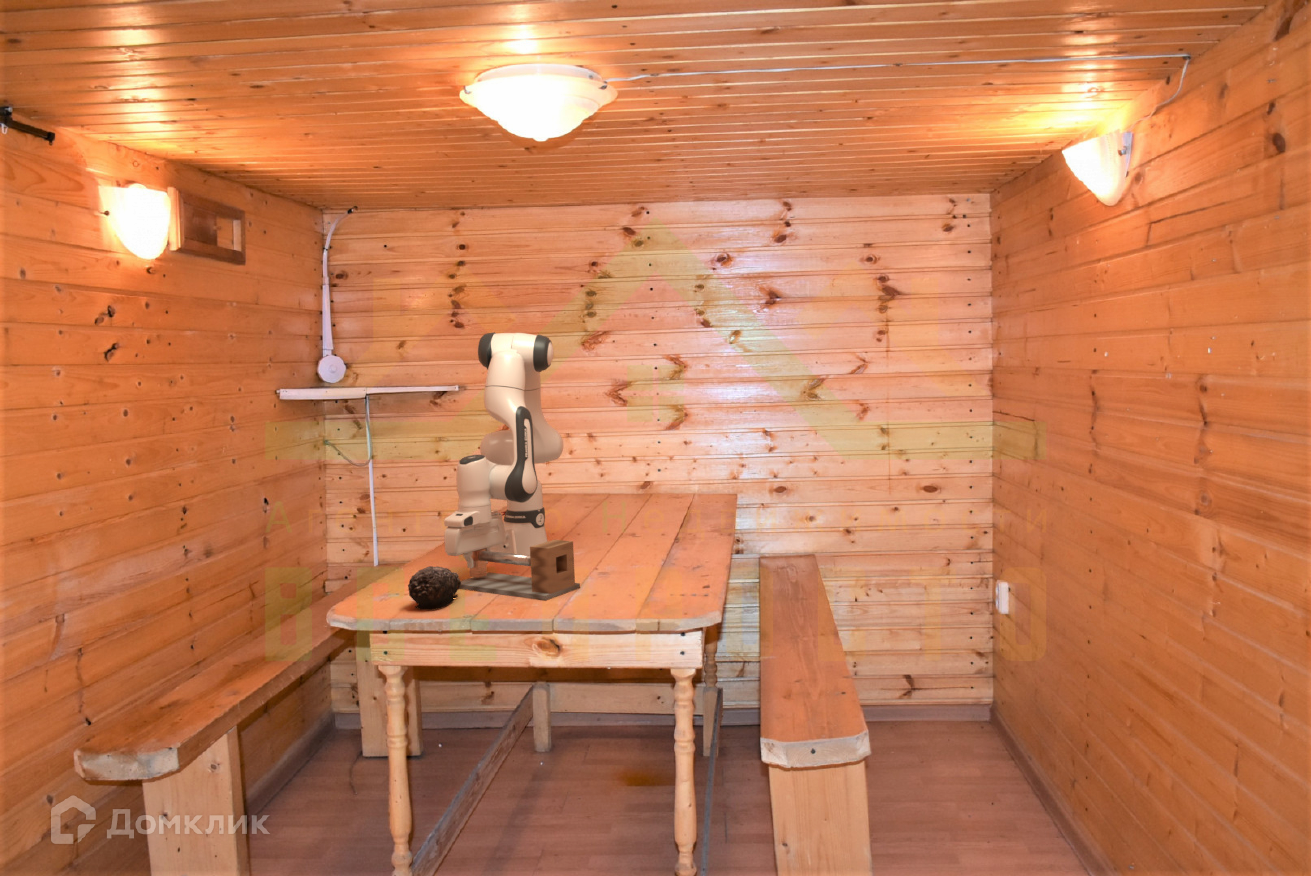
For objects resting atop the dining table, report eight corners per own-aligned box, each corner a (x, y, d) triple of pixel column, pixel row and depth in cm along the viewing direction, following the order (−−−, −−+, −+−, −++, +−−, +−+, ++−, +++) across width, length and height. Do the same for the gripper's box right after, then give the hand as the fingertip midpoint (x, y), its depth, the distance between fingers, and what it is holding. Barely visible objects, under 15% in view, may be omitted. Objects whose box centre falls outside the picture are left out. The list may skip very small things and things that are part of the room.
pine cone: (466, 593, 241) (464, 555, 240) (445, 612, 224) (443, 571, 223) (427, 594, 242) (425, 556, 241) (403, 612, 225) (400, 572, 224)
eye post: (452, 587, 248) (450, 540, 247) (489, 576, 260) (486, 531, 259) (545, 600, 231) (543, 550, 230) (580, 587, 242) (577, 539, 241)
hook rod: (469, 576, 252) (468, 550, 251) (478, 573, 255) (476, 548, 254) (529, 584, 240) (528, 556, 240) (537, 581, 243) (536, 554, 242)
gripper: (492, 509, 261) (495, 557, 263) (439, 520, 244) (442, 572, 245) (509, 510, 258) (512, 559, 259) (456, 522, 241) (459, 574, 242)
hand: (477, 565), depth 252 cm, fingers closed on hook rod, 3 cm apart
